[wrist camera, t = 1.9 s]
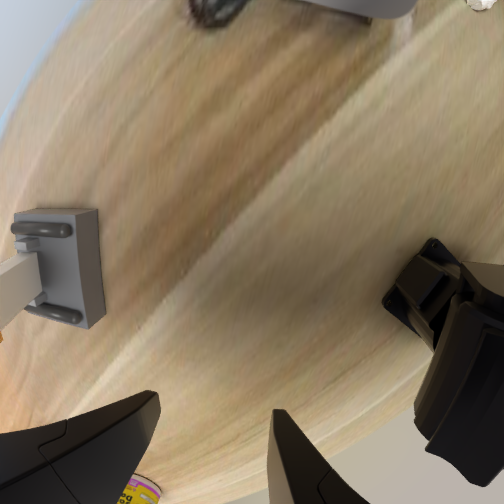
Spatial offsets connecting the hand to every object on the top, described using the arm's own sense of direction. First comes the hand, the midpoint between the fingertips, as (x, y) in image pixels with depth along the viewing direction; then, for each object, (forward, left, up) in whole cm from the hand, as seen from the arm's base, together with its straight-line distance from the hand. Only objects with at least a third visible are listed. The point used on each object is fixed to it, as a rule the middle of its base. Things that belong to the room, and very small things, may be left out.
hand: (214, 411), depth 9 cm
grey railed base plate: (+14, +9, -13) cm, 21 cm away
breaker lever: (+15, +9, -9) cm, 20 cm away
